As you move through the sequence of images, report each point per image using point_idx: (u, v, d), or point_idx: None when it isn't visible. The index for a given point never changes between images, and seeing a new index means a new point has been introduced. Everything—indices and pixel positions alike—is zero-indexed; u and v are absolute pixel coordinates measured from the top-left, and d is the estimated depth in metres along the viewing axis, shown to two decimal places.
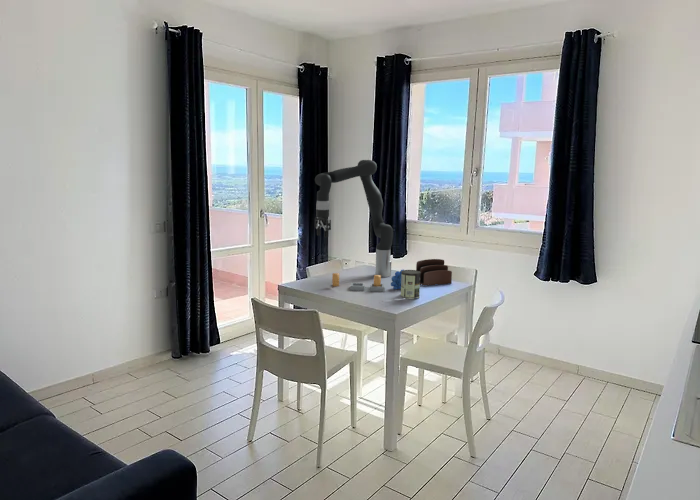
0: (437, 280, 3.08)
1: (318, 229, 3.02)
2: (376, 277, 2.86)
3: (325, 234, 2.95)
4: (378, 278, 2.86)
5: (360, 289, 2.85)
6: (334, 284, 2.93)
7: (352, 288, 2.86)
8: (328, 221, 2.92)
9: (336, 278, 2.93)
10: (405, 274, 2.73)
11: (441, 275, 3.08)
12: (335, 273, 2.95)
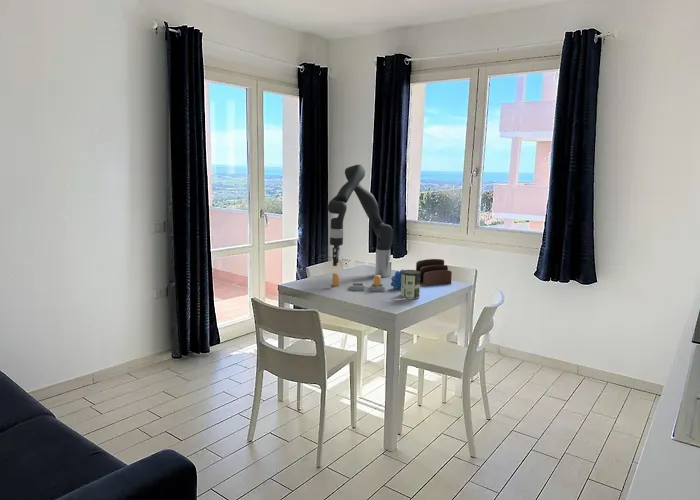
0: (437, 280, 3.08)
1: None
2: (376, 277, 2.86)
3: None
4: (378, 278, 2.86)
5: (360, 289, 2.85)
6: (334, 284, 2.93)
7: (352, 288, 2.86)
8: None
9: (336, 278, 2.93)
10: (405, 274, 2.73)
11: (441, 275, 3.08)
12: (335, 273, 2.95)
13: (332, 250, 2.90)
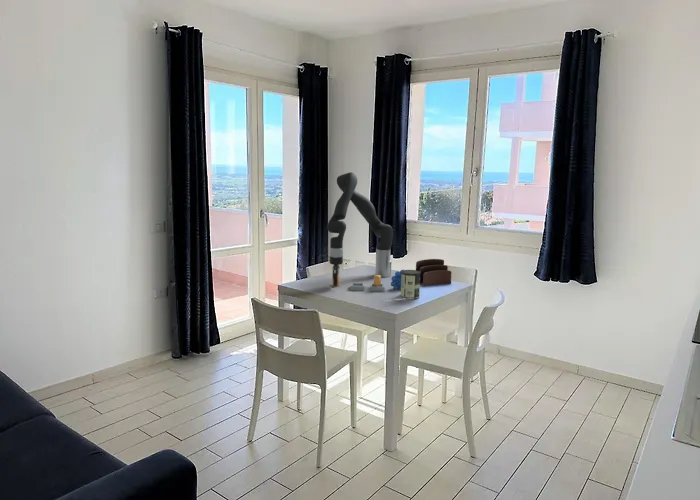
0: (437, 280, 3.08)
1: None
2: (376, 277, 2.86)
3: None
4: (378, 278, 2.86)
5: (360, 289, 2.85)
6: None
7: (352, 288, 2.86)
8: None
9: None
10: (405, 274, 2.73)
11: (441, 275, 3.08)
12: None
13: (332, 269, 2.92)
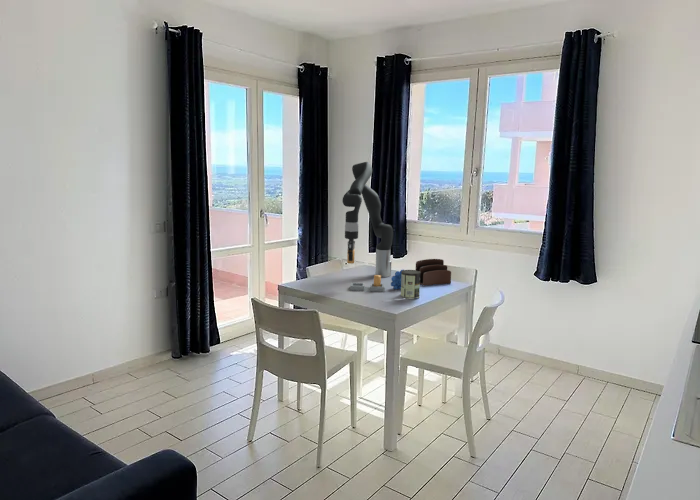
0: (436, 280, 3.08)
1: None
2: (376, 277, 2.86)
3: None
4: (378, 278, 2.86)
5: (360, 289, 2.85)
6: None
7: (352, 288, 2.86)
8: None
9: None
10: (405, 274, 2.73)
11: (441, 275, 3.09)
12: None
13: None
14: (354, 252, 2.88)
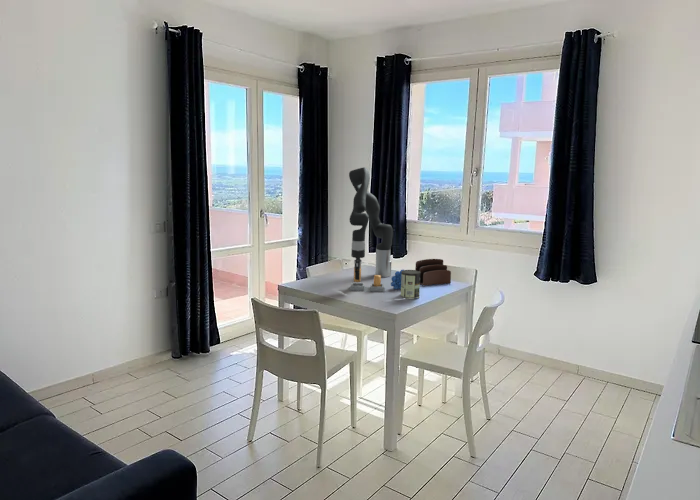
0: (436, 280, 3.08)
1: None
2: (376, 277, 2.86)
3: None
4: (378, 278, 2.86)
5: (360, 289, 2.85)
6: None
7: (352, 288, 2.86)
8: None
9: None
10: (405, 274, 2.73)
11: (440, 275, 3.09)
12: None
13: (354, 263, 2.85)
14: None
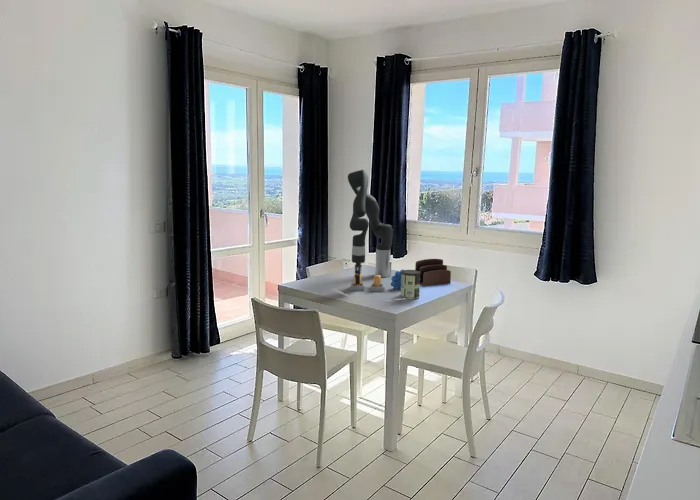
0: (436, 280, 3.08)
1: None
2: (376, 277, 2.86)
3: None
4: (378, 278, 2.86)
5: (360, 289, 2.85)
6: (356, 285, 2.87)
7: (352, 288, 2.86)
8: None
9: None
10: (405, 274, 2.73)
11: (440, 275, 3.09)
12: (357, 274, 2.89)
13: None
14: None
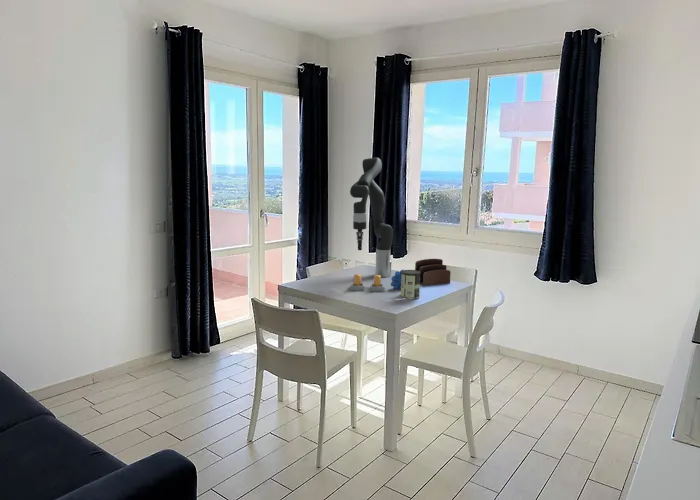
0: (436, 280, 3.08)
1: None
2: (376, 277, 2.86)
3: None
4: (378, 278, 2.86)
5: (360, 289, 2.85)
6: (356, 285, 2.87)
7: (352, 288, 2.86)
8: None
9: (358, 280, 2.86)
10: (405, 274, 2.73)
11: (440, 275, 3.09)
12: (357, 274, 2.89)
13: (356, 234, 2.89)
14: None
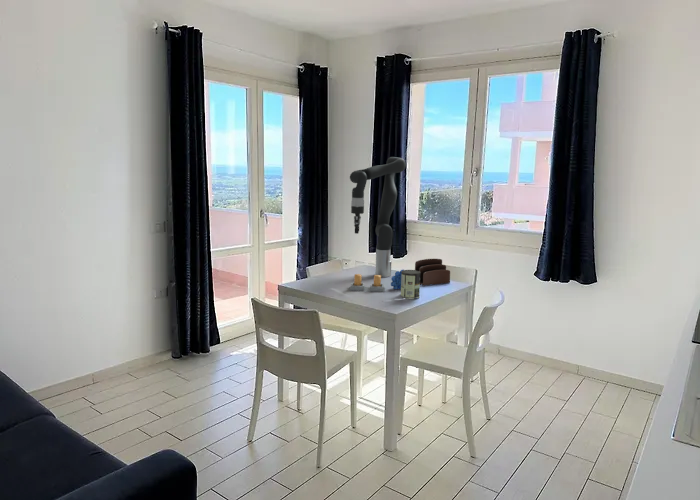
0: (436, 280, 3.09)
1: None
2: (376, 277, 2.86)
3: None
4: (378, 278, 2.86)
5: (360, 289, 2.85)
6: (356, 285, 2.87)
7: (352, 288, 2.86)
8: None
9: (358, 279, 2.87)
10: (405, 274, 2.73)
11: (440, 275, 3.10)
12: (357, 274, 2.89)
13: (354, 218, 3.02)
14: (361, 278, 2.88)
